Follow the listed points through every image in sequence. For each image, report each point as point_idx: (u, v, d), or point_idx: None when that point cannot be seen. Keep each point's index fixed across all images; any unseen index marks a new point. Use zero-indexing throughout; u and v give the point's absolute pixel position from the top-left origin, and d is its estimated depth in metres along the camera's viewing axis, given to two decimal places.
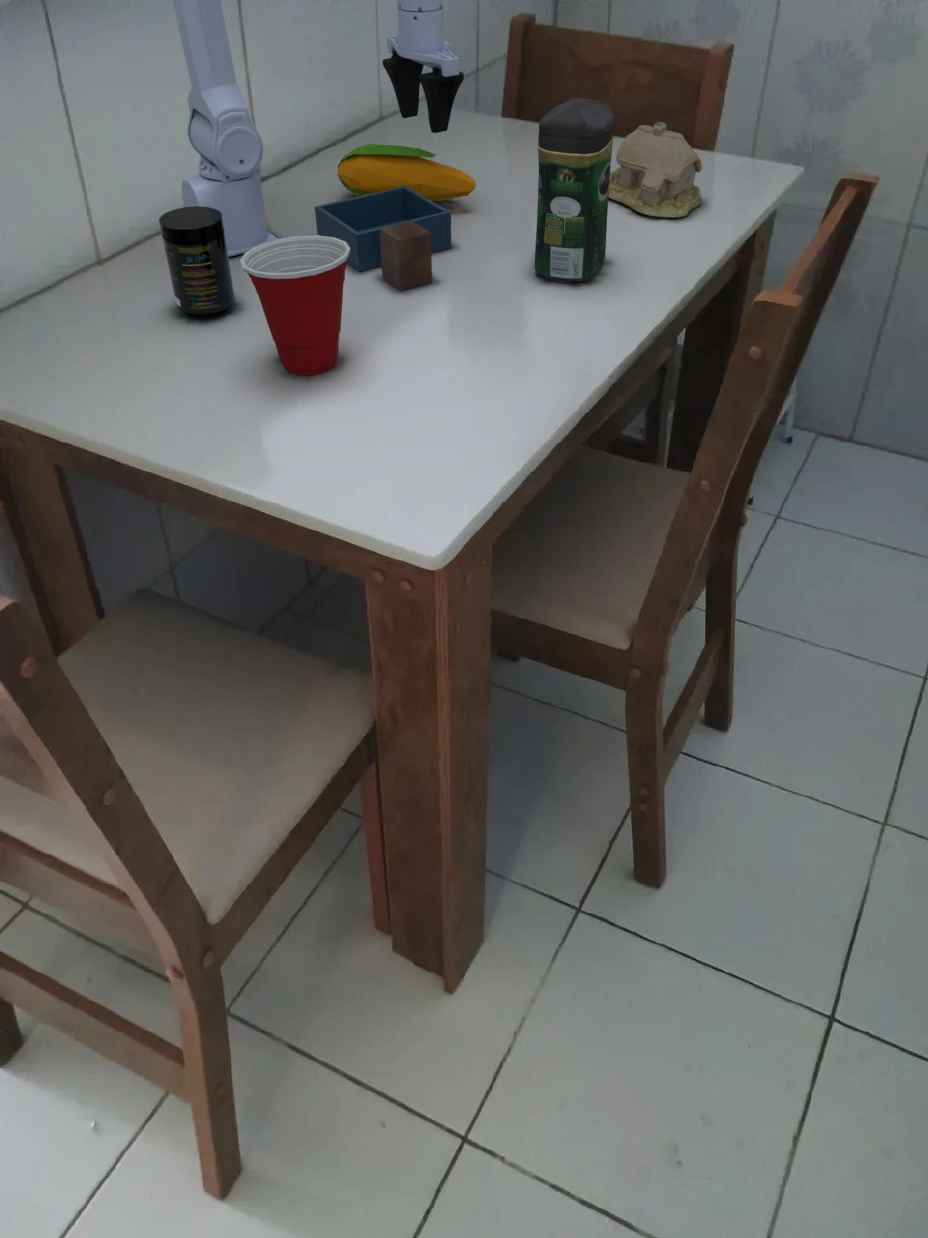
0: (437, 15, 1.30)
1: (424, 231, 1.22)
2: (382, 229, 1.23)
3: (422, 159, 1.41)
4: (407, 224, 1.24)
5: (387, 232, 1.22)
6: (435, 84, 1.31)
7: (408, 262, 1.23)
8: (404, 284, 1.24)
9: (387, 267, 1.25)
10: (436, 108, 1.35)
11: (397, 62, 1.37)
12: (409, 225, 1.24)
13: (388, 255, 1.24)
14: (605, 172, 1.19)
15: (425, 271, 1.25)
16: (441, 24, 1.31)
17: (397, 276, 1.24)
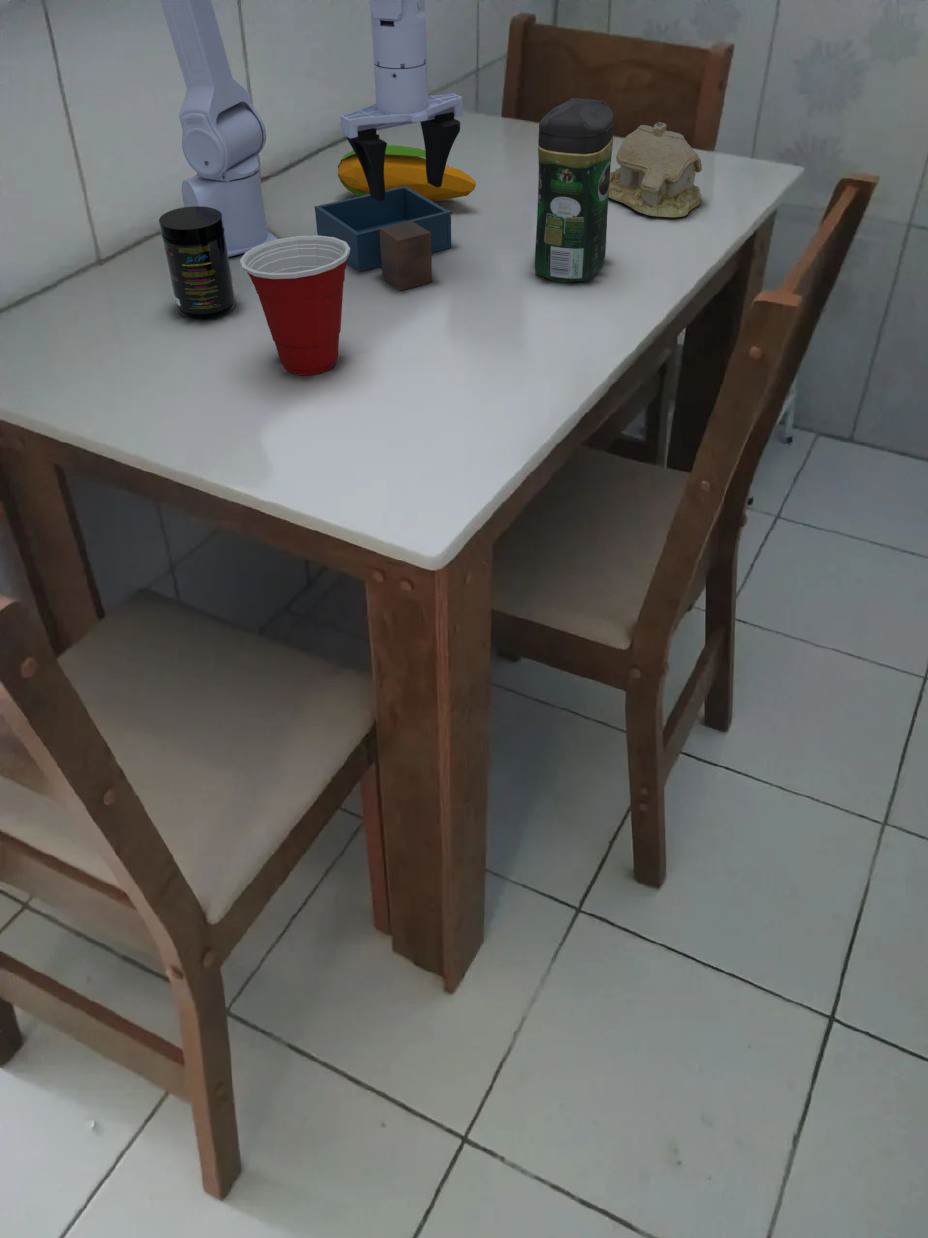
0: (382, 73, 1.12)
1: (424, 231, 1.22)
2: (382, 229, 1.23)
3: (422, 159, 1.41)
4: (407, 224, 1.24)
5: (387, 232, 1.22)
6: (349, 139, 1.17)
7: (408, 262, 1.23)
8: (404, 284, 1.24)
9: (387, 267, 1.25)
10: (368, 170, 1.19)
11: (426, 120, 1.21)
12: (409, 225, 1.24)
13: (388, 255, 1.24)
14: (605, 172, 1.19)
15: (425, 271, 1.25)
16: (388, 86, 1.13)
17: (397, 276, 1.24)
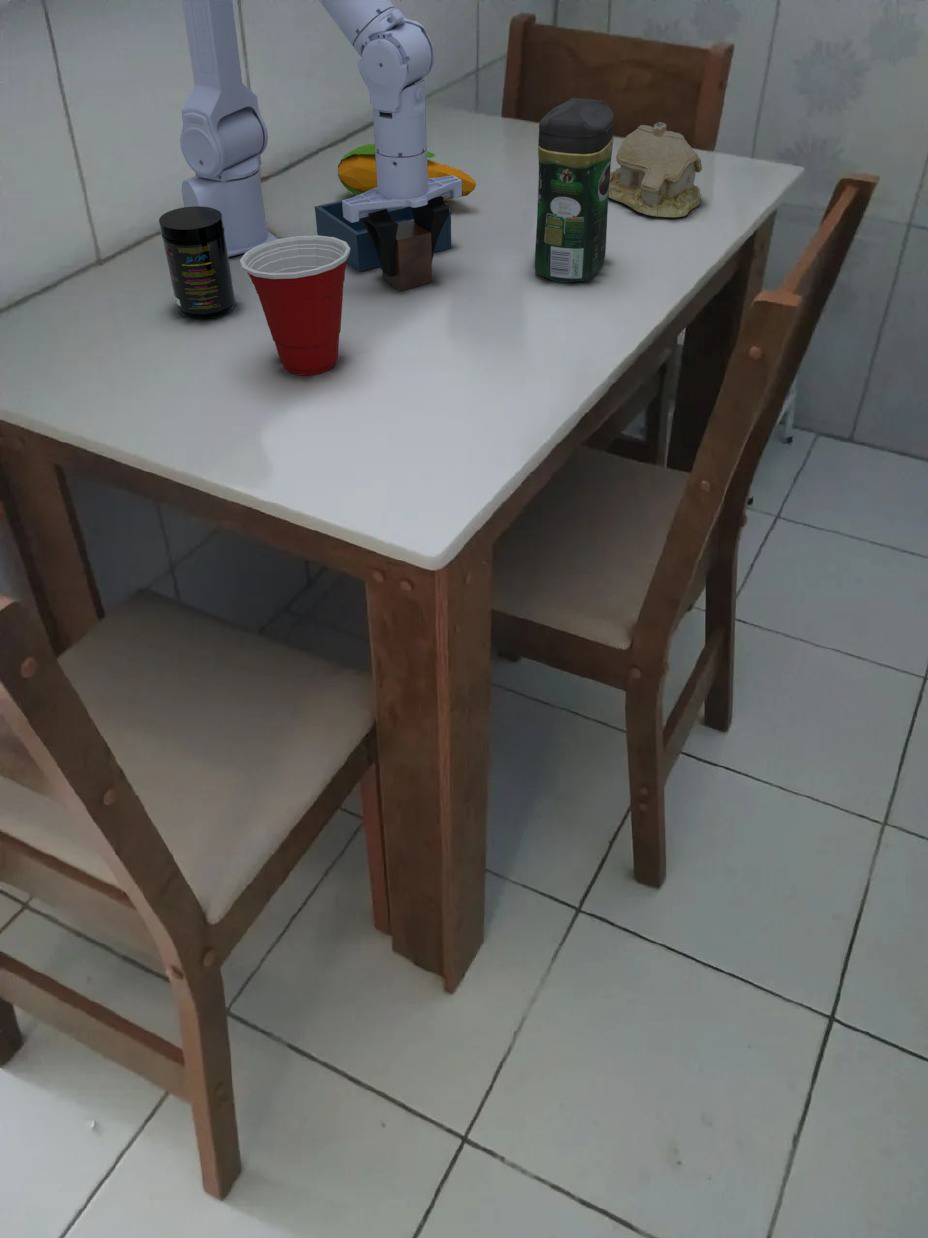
0: (383, 161, 1.16)
1: (424, 231, 1.22)
2: None
3: None
4: (407, 224, 1.24)
5: None
6: (361, 219, 1.21)
7: (409, 262, 1.23)
8: (404, 284, 1.24)
9: None
10: (380, 247, 1.23)
11: None
12: (410, 225, 1.24)
13: None
14: (605, 172, 1.19)
15: (426, 271, 1.25)
16: (389, 173, 1.16)
17: (397, 276, 1.24)
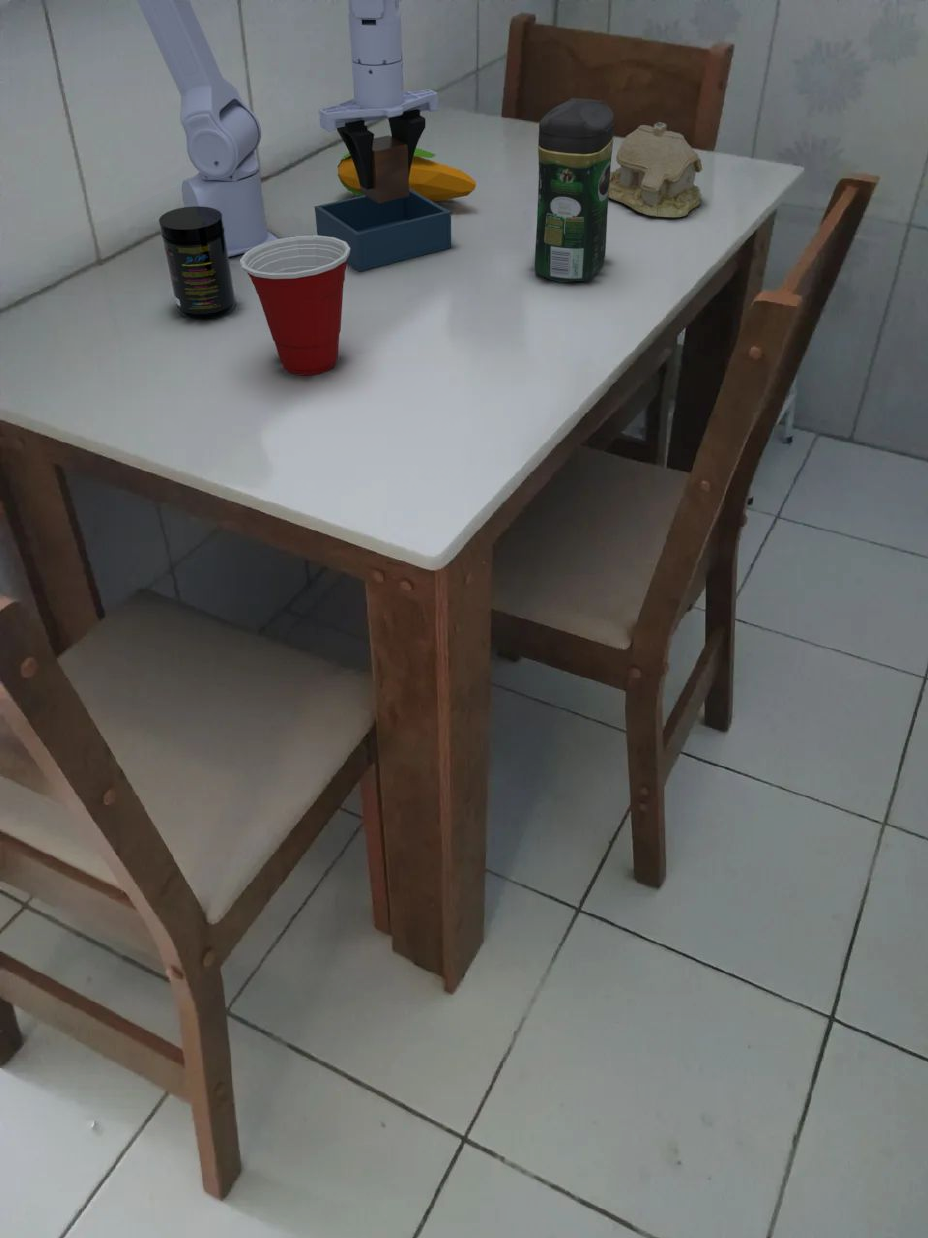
0: (359, 69, 1.18)
1: (401, 143, 1.24)
2: None
3: (422, 159, 1.41)
4: (384, 137, 1.26)
5: None
6: (339, 130, 1.23)
7: (385, 175, 1.25)
8: (381, 197, 1.26)
9: None
10: (357, 160, 1.25)
11: (394, 116, 1.25)
12: (387, 138, 1.26)
13: None
14: (605, 172, 1.19)
15: (402, 185, 1.27)
16: (365, 81, 1.18)
17: (374, 188, 1.26)
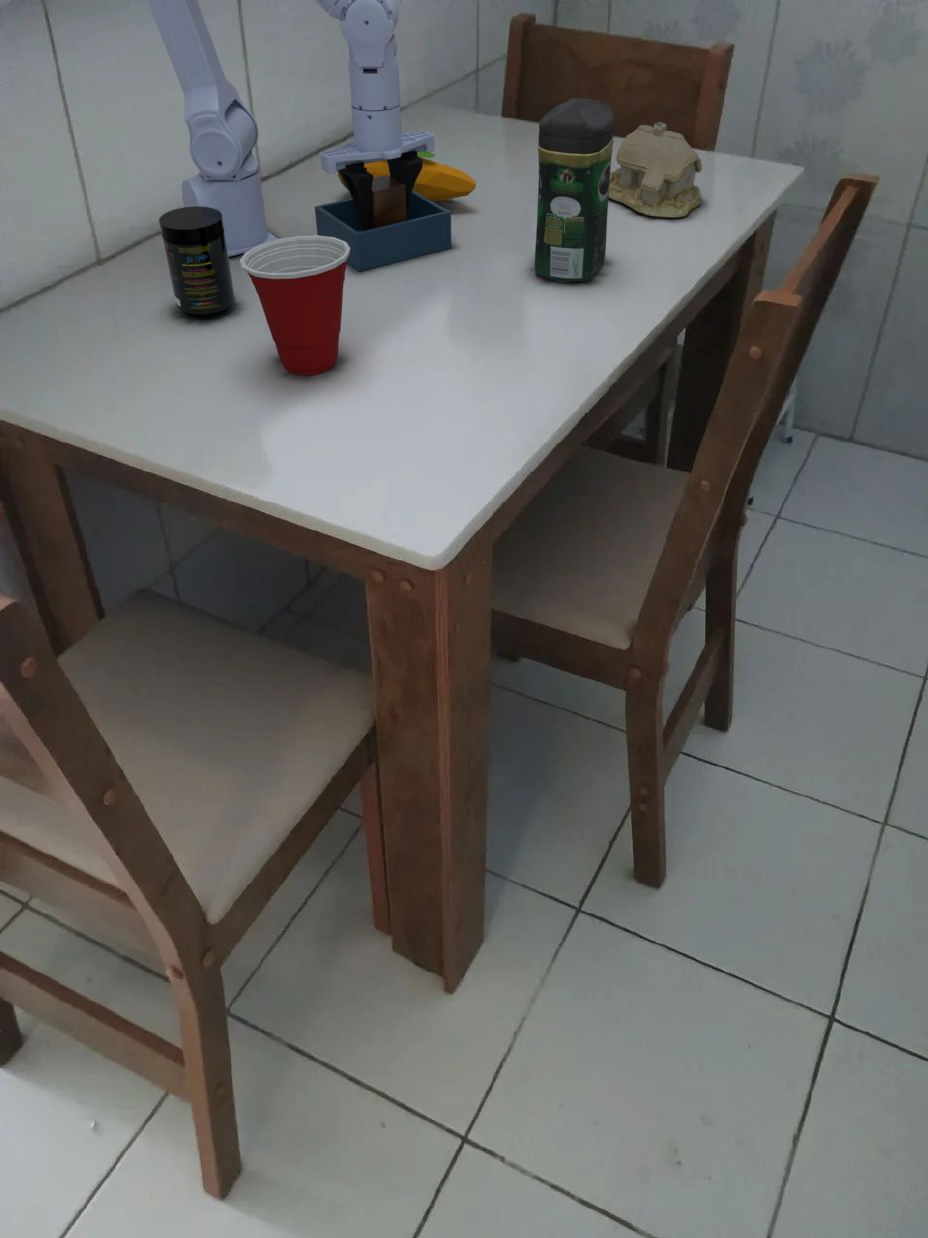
0: (358, 115, 1.23)
1: (399, 183, 1.30)
2: None
3: (422, 159, 1.41)
4: (383, 177, 1.31)
5: None
6: (339, 172, 1.28)
7: (384, 213, 1.30)
8: None
9: None
10: (357, 199, 1.30)
11: None
12: (385, 178, 1.31)
13: None
14: (605, 172, 1.19)
15: None
16: (364, 126, 1.23)
17: (374, 226, 1.31)
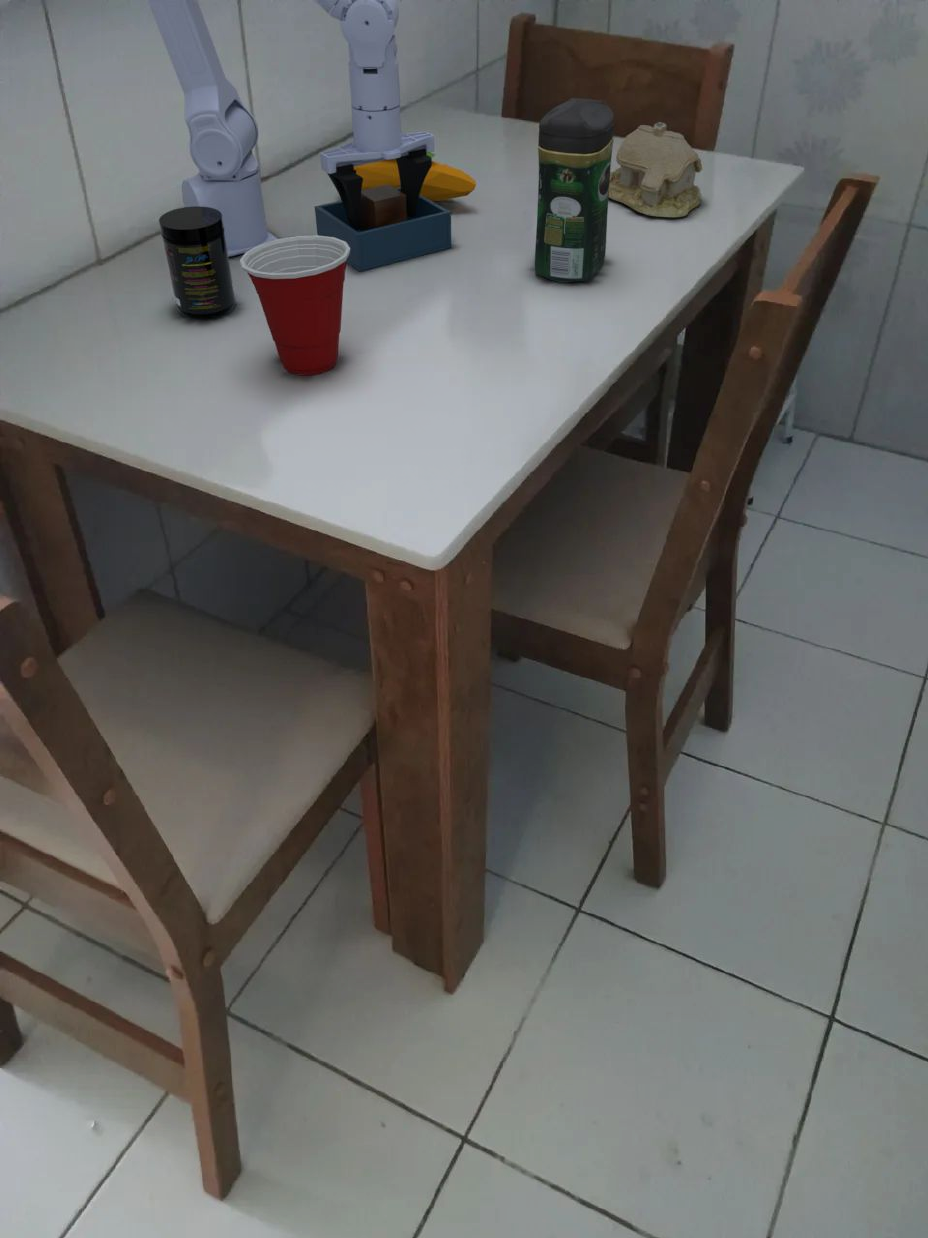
0: (358, 115, 1.23)
1: (399, 193, 1.30)
2: None
3: None
4: (384, 187, 1.32)
5: (365, 194, 1.30)
6: (329, 174, 1.27)
7: (385, 223, 1.31)
8: None
9: (365, 228, 1.33)
10: (347, 202, 1.30)
11: (401, 155, 1.31)
12: (386, 188, 1.32)
13: (366, 216, 1.32)
14: (605, 172, 1.19)
15: None
16: (364, 126, 1.23)
17: None
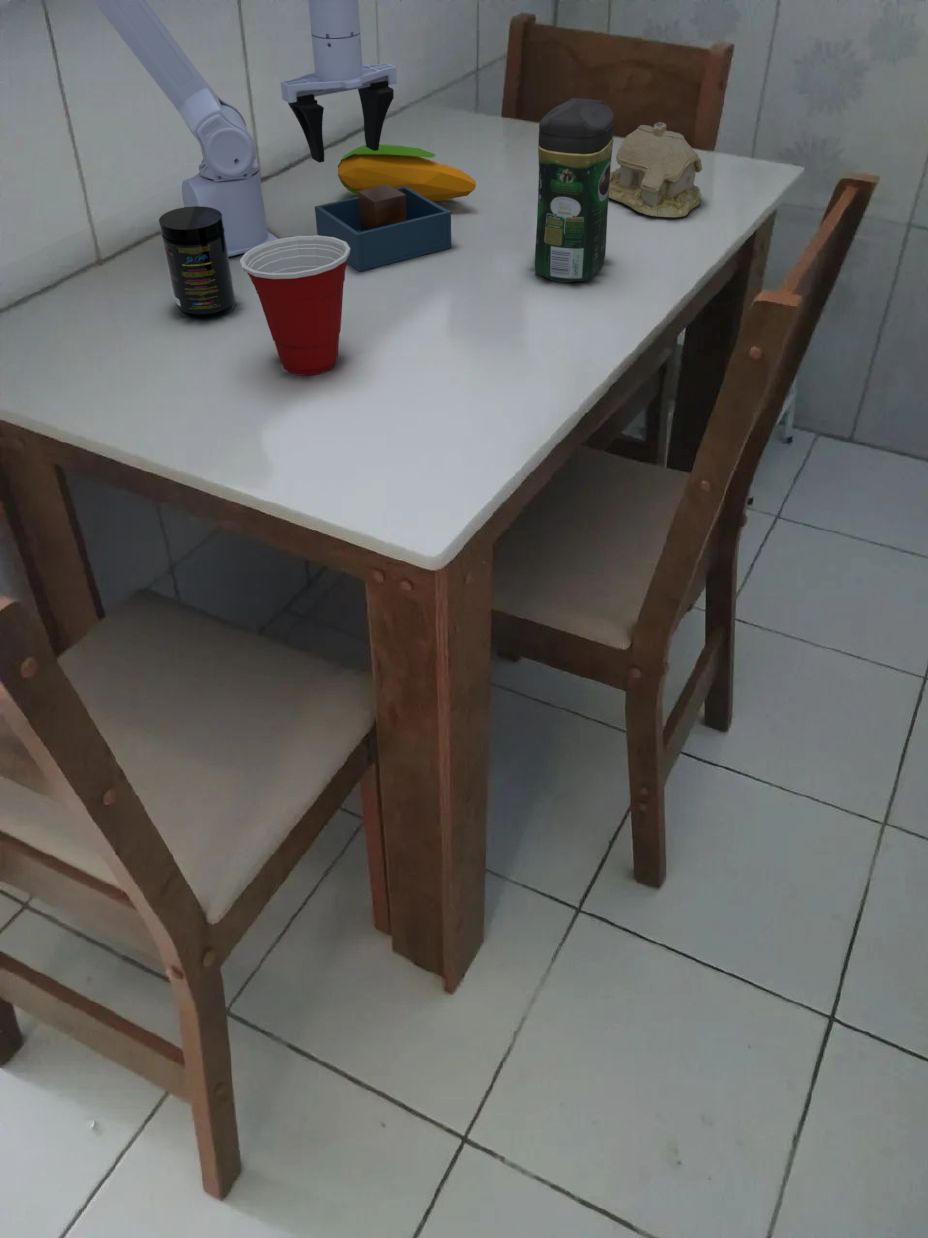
0: (318, 43, 1.23)
1: (399, 193, 1.30)
2: (360, 191, 1.31)
3: (422, 159, 1.41)
4: (384, 187, 1.32)
5: (365, 194, 1.30)
6: (290, 105, 1.27)
7: (385, 223, 1.31)
8: None
9: (365, 228, 1.33)
10: (309, 133, 1.30)
11: (363, 88, 1.31)
12: (386, 188, 1.32)
13: (366, 216, 1.32)
14: (605, 172, 1.19)
15: None
16: (324, 54, 1.23)
17: None
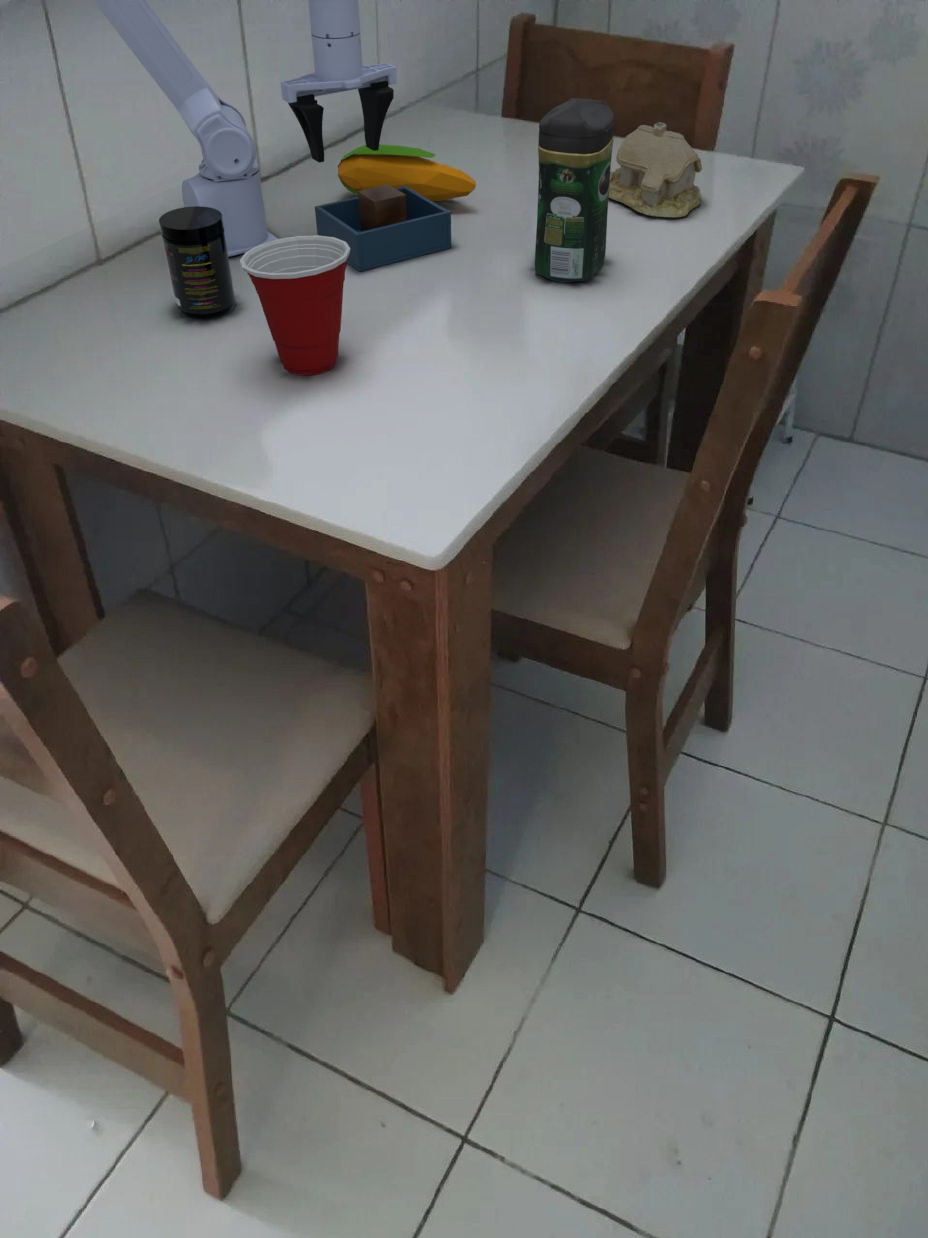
0: (318, 43, 1.23)
1: (399, 193, 1.30)
2: (360, 191, 1.31)
3: (422, 159, 1.41)
4: (384, 187, 1.32)
5: (365, 194, 1.30)
6: (290, 105, 1.27)
7: (385, 223, 1.31)
8: None
9: (365, 228, 1.33)
10: (309, 133, 1.30)
11: (363, 88, 1.31)
12: (386, 188, 1.32)
13: (366, 216, 1.32)
14: (605, 172, 1.19)
15: None
16: (324, 54, 1.23)
17: None
